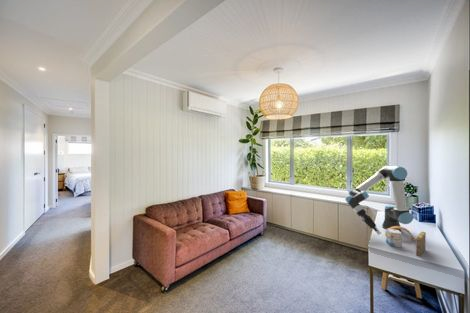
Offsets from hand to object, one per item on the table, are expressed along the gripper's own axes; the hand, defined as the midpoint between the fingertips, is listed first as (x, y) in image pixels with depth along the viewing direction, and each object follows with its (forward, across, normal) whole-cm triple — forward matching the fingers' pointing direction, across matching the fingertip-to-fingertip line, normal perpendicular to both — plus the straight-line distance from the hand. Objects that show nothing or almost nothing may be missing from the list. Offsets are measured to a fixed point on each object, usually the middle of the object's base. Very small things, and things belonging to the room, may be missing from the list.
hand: (380, 234), depth 179 cm
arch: (+10, -20, +2) cm, 23 cm away
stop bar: (+23, 0, +15) cm, 27 cm away
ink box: (+11, 0, +3) cm, 11 cm away
